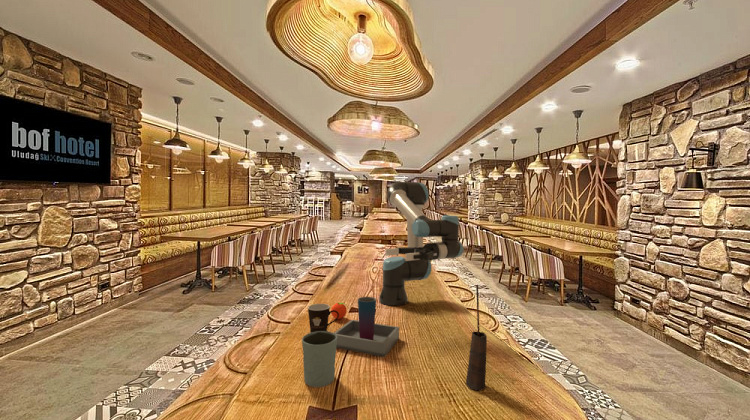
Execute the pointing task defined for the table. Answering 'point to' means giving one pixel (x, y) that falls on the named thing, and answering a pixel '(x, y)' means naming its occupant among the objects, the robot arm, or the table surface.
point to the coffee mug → (319, 317)
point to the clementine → (339, 310)
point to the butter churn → (477, 357)
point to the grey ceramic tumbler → (319, 358)
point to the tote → (378, 346)
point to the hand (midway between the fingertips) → (395, 254)
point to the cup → (366, 317)
